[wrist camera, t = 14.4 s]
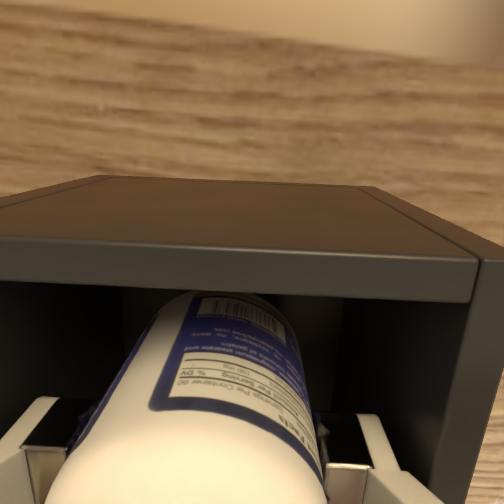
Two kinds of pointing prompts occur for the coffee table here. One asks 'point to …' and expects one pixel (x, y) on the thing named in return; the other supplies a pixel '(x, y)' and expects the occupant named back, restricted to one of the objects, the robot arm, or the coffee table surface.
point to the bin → (268, 288)
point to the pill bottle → (202, 414)
